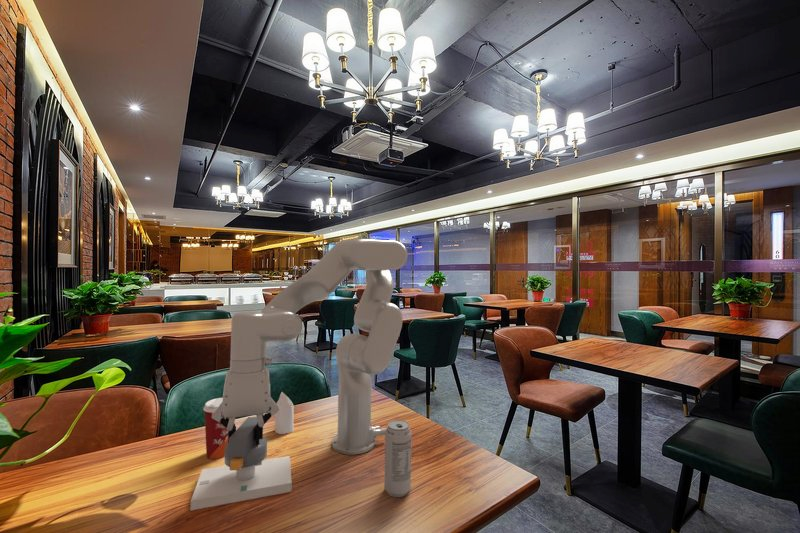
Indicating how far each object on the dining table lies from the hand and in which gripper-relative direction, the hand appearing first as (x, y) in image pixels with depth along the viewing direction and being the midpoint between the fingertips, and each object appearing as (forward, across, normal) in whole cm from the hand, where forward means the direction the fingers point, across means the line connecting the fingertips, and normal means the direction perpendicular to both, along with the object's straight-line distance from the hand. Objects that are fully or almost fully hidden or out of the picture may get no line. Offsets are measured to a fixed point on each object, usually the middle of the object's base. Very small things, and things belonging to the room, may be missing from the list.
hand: (245, 443), depth 81 cm
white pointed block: (+10, -9, -26) cm, 30 cm away
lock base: (+10, 0, 0) cm, 10 cm away
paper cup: (+10, +8, -17) cm, 22 cm away
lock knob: (+3, 0, 0) cm, 3 cm away
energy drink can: (+10, -33, +13) cm, 37 cm away
